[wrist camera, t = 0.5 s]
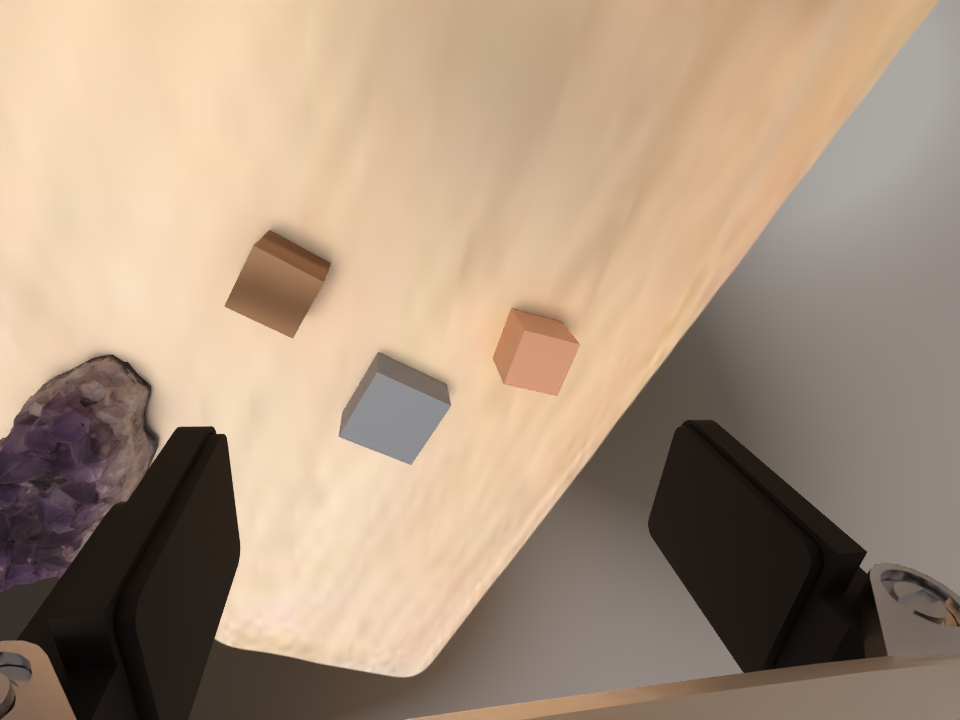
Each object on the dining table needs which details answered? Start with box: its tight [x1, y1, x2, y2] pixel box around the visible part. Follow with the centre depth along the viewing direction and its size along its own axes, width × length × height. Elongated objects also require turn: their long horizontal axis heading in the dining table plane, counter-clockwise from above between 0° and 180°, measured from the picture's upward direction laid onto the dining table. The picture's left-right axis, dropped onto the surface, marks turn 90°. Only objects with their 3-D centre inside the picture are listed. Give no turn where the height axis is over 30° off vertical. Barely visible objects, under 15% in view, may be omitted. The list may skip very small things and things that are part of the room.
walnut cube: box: [225, 230, 331, 338], centre depth 37 cm, size 5×5×5 cm
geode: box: [0, 355, 157, 591], centre depth 39 cm, size 20×12×10 cm, turn 154°
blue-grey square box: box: [339, 352, 451, 465], centre depth 44 cm, size 7×7×4 cm
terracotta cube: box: [493, 309, 580, 396], centre depth 43 cm, size 5×5×5 cm
